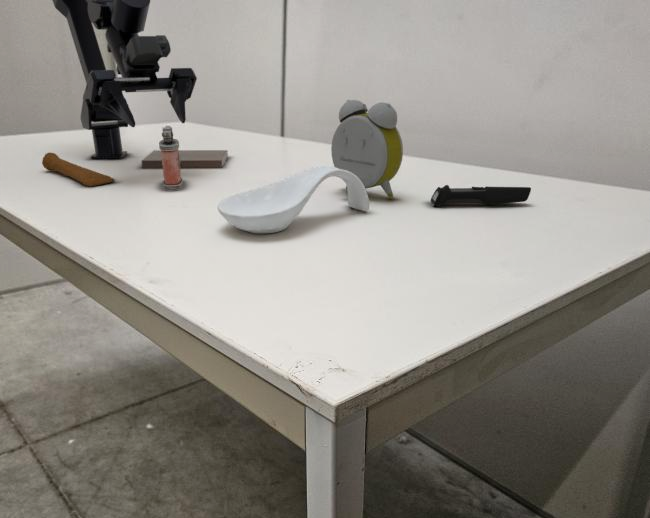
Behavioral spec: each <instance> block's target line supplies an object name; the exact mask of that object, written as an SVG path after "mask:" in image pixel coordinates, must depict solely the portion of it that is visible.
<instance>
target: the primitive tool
mask: <svg viewBox="0 0 650 518" xmlns="http://www.w3.org/2000/svg"><path fill="white" fill-rule="evenodd" d="M41 160H42V162H41V164H42V167H43V168H44V169H46V170H47V171H50V172H53V171H56V172H59V173H61V174H62V175H64V176H65V177H70V178H72V179H73V180H76V181H77V182H79V183H81V184H83V186H86V187H94V186H100V185H105V184H110V183H114V182H115V178H113V177H111V176H109V175H108V174H104V173H101V172H98V171H94V170H92V169H90V168H86V167H82V166H80V165H78V164H75V163H73V162H70V161H68V160H65V159H63V158H60V157H59V156H58V154H56V153H54V152H47V153H45V154H44V155H43V157H42V159H41Z"/></svg>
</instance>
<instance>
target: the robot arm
mask: <svg viewBox="0 0 650 518" xmlns="http://www.w3.org/2000/svg"><path fill="white" fill-rule="evenodd" d="M52 3H53V6H54V8H55V9H56V10H57V11H58V12H59V13H60V14H61V15H62V16H63V17H64V18H66V21H67V25H68V28H69V31H70V35H71V38H72V41H73V44H74V48H75V51H76V55H77V57H78V60H79V64H80V67H81V70H82V73H83V77H84V80H85V84H86V85H85V88H84V92H83V95H82V104H81V111H80V122H81V126H82V128H83V129H85V130H88V131H91V134H92V140H93V147H94V153H93V154H92V155H91V156H90V159H93V160H94V159H95V160H97V159H99V160H100V159H101V160H103V159H107V160H108V159H110V160H111V159H122V158H123V157H125V156H126V155H128V150H127V151H125V150H124V151H123V145H122V138H121V130H120V128H128V127H129V126H130V127H131V128H136V121H135V118H134V114H133V113H132V111H131V108H130V106H129V103H128V102H127V99H126V97H125V95H124V94H123V92H124V93H149V92H150V93H151V92H166V94H167V95H168V98H170V101H169V104H170V105H171V106H172V109H173V111H174V113H175V114H176V116H177V118H178V120H179V122H180V123H181V124H185V123H186V120H187V119H186V102H187V100H189V99H191V98H192V95H193V92H194V89H195V86H196V82H197V79H198V77H197V75H196V73H195V71H194V70H193V68H191V67H172V68H170V71H169V75H168V77H158V76H157V74H156V73H159V72H160V69H161V68H160V64H159V62H160V60H161V59H162V58H168V56H169V55H170V53H171V52H172V49H171V44H170V41H169V40H168V37H167V36H166V35H162V34H159V35H158V34H156V35H139V33H141V32H144V30H145V28H146V22H147V17H148V14H149V9H150V4H151V0H52ZM94 28H95V29H96V30H102V31H105V34H104V36H105V40H106V42H107V44H106V49H107V53H111V54H112V56H113V59H114V62H115V63H116V68H115V70H114V69H107V68H106V65H105V62H104V61H105V60H104V59H103V54H102V52H101V49H100V45H99V42H98V39H97V35H96V31H95V29H94ZM115 71H116V73H117V74H116V73H115ZM117 75H121V76H120V77H119V76H118V77H116V76H117ZM92 122H93V123H92Z"/></svg>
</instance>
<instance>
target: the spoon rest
mask: <svg viewBox="0 0 650 518" xmlns="http://www.w3.org/2000/svg"><path fill="white" fill-rule="evenodd" d="M331 177H335V178H339V179H341V180H342V179H343V180H344V181H345V182H344V181H343V180H342V181H343V182H344V183H345V186H346V185H347V189H346V190H347V206H349V207H351V208H353V209H357V210H359V211H362V212H367V211H369V210H370V199H369V196H368V192H367V189H365V187H364V185H363V183H362V182H361V180H360V179H359V178H358V177H357V176H356V175H355V174H353V173H351V172H349V171H346V170H342V169H338V168H336V167H334V166H332V165H317V166H313V167H311V168H308V169H305V170H301V171H299V172H297V173H295V174H293V175H289V176H287V177H284V178H283V179H279V180H277V181H274V182H271V183H269V184H265V185H263V186H259V187H257V188H253V189H249V190H246V191H242V192H239V193H235V194H232V195H230V196H228V197H226V198H223V199H222V200H220V201H219V203H218V204H217V211H218V213H219V214H220V216H222V217H223V219H224V220H225V221H226V222H227V223H229V224H230V225H231V226H233V227H235V228H237V229H238V230H242V231H245V232H248V233H251V234H273V233H274V234H275V233H279V232H282V231H284V230H286V229H287V228H288V227H289V225H290V224H292V223H293V222H294V221H295V219H297V218H298V216H299V215H300V213H301V212H302V211H303V209H304V208H305V206H306V205H307V203H308V202H309V201H310V199H311V198H312V196H313V194H314V193H315V191H316V190H317V189H318V187H320V185H321V184H322V183H323V182H324V181H325V180H327V179H328V178H331Z"/></svg>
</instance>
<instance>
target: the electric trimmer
mask: <svg viewBox="0 0 650 518" xmlns="http://www.w3.org/2000/svg"><path fill="white" fill-rule="evenodd" d="M531 191H532V187H530V186H485V187H484V186H471V187H464V188H463V187H457V188H456V187H455V188H454V187H453V188H452V187H451V188H450V186H449V185H448V184H445V185H443V186H442V187H440V186H438V187H436V189H435V190H434V192H433V194H432V195H431V197H430V204H431V205H432V206H436V207H437V208H438V207H439V208H440V207H442V205H459V204H460V205H462V204H465V205H466V204H483V205H486V206H494V205H503V204H505V205H506V204H513V203H524V202H526V201H527V200H529V197H530V194H531Z"/></svg>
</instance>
